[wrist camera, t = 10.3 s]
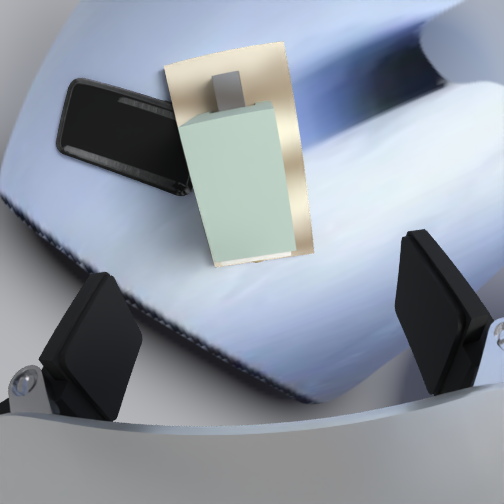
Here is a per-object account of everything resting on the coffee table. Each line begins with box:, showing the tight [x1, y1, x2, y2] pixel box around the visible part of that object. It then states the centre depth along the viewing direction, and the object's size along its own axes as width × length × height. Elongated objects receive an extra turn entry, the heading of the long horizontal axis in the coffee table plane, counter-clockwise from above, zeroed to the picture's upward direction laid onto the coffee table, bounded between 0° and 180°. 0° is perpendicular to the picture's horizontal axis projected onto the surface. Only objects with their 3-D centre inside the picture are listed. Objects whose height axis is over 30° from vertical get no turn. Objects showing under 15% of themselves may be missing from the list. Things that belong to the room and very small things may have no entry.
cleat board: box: [164, 41, 314, 267], centre depth 27 cm, size 20×10×3 cm, turn 10°
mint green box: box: [178, 100, 296, 266], centre depth 25 cm, size 11×6×8 cm, turn 11°
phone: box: [56, 78, 193, 196], centre depth 27 cm, size 8×1×15 cm
